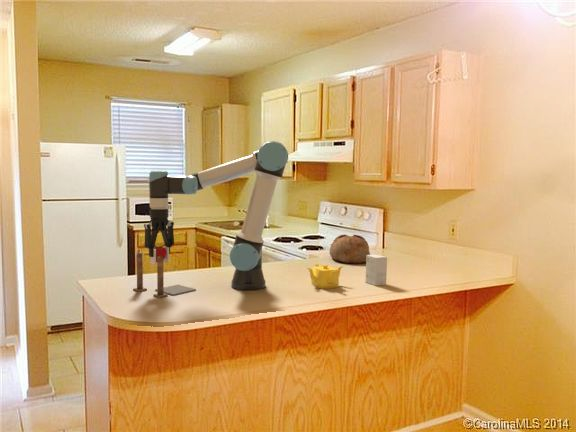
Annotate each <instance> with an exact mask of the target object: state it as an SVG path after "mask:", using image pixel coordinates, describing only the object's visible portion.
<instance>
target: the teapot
mask: <svg viewBox="0 0 576 432" xmlns="http://www.w3.org/2000/svg"><path fill="white" fill-rule="evenodd" d="M314 265H315V266H313V267H312V268H311V267H310V268H309V267H306V269H307V270H308V271H309V275H310V281H311V284H312V286H314V287H316V288H318V289H322V290H326V289H336V288H338V287H339V282H340V281H339V278H340V276H341V275H340V274H341V270H342V268H343V267H344V265H341V266H340V265H339V266H338V267H337V268H335V267H332V266H329V264H322V266H321V265H319V263H318V262H315V263H314Z"/></svg>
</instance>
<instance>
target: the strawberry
mask: <svg viewBox="0 0 576 432" xmlns="http://www.w3.org/2000/svg"><path fill="white" fill-rule="evenodd" d="M163 247H165V244H161V245H160V244H157V245H155V247H154V249H156V263H157V257H163V261H164V258H165V257H166V254H167V251H166V249H165V248H163Z"/></svg>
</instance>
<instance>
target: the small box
mask: <svg viewBox="0 0 576 432" xmlns="http://www.w3.org/2000/svg"><path fill="white" fill-rule="evenodd" d="M365 264H366V265H365V283H367V284H370V285H372V286H376V287H377V286H384V285H385V286H386V285H387V270H388V257H387V256H383V255H379V254H370V255H366V262H365Z"/></svg>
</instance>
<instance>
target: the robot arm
mask: <svg viewBox="0 0 576 432" xmlns="http://www.w3.org/2000/svg"><path fill="white" fill-rule="evenodd" d="M288 161H289V152H288V150H287V148H286V146H284V144H283V143H281V142H279V141H276V140H275V141H274V140H271V141H267V142H265V143H263V144H262V145H261V146H260V148H258V150H256V151H253V153H252V154H251V155H248V156H244V157H241V158H238V159H236V160H235V159H234V160H232V161H229V162H225V163H223V164H219V165H217V166H214V167H210V168H208V169H204V170H202V171H198V172H194V173H192V174H188V175H169V173H168V171H167V170H152V171H150V172H149V177H148V180H149V181H148V187H149V189H148V191H149V192H148V193H149V208H150V209H149V218H150V221H149V223H144V224H143V227H144V248H145V249H148V256H149V258H150V265H153V266H157V262H156V249H154V247H155V246H156V242H157V239H158V235H159V233H160V232H161V233H160V234H161V236H162V240H163V243H164V244H163V245H164V246H163V248H165V249H166V251H167V254H166V257H165V258H164V260H163V263H170V254H171V247H173V246H174V245H175V236H174V235H175V234H174V225H175V222H174V221H170V220H169V209H168V208H169V195H196V194H197V192H198V191H201V190H204V189H207V188H209V187H213V186H217V185H219V184H222V183H226V182H229V181H232V180H235V179H238V178H241V177H244V176H248V175H251V174H254V173H255V175H256V178H255V181H254V184H253V188H252V191H251V195H250V199H249V203H248V206H247V210H246V213H245V217H244V221H243V224H242V226H241V227H242V228H241V231H239V232H238V233H236V235H235V238H234V243H233V246H232V248H231V249H230V252H229V261H230V263H231V265H232V266H233V267H234V268H235V270H234V274H233V277H232V279H231V288H233V289H236V290H243V291H256V290H261V289H264V288H265V287H266V279H265V277H264V272H263V266H262V265H263V246H264V242H265V241H264V239H263V236H262V235H263V233H264V228H265V226H266V221H267V218H268V215H269V212H270V211H269V210H270V207H271V204H272V201H273V200H272V199H273V196H274V194H275V190H276V187H277V182H278V181H280V180H281V179H283V175H284V172H285V168H286V164H287V163H288Z"/></svg>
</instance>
